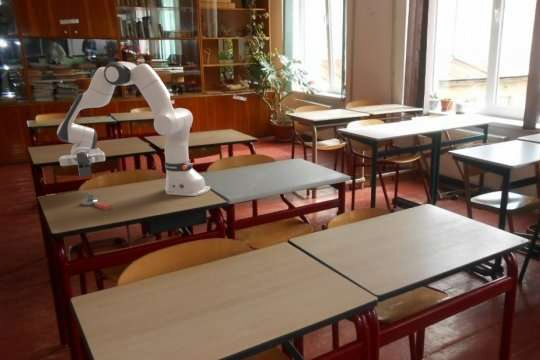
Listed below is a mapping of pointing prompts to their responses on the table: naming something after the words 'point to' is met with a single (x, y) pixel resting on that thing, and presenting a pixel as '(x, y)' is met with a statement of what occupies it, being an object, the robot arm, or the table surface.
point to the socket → (83, 164)
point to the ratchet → (95, 202)
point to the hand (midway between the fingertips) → (83, 162)
